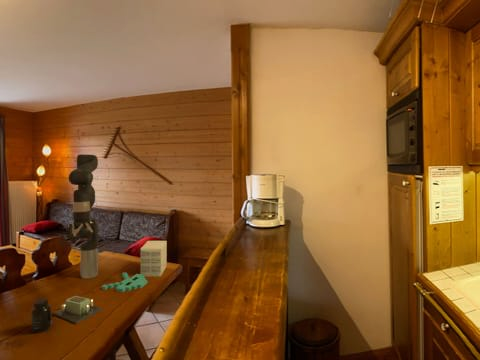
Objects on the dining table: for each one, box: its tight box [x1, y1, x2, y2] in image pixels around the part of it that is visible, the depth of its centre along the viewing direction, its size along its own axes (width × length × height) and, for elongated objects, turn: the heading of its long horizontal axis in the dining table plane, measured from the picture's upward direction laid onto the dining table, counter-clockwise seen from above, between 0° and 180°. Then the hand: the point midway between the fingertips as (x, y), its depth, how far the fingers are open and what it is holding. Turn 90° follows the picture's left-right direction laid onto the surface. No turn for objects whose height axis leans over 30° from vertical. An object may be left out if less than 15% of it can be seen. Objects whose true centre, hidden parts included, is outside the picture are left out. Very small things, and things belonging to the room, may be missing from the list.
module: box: [65, 295, 91, 315], centre depth 125 cm, size 9×5×5 cm, turn 72°
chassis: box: [53, 297, 102, 325], centre depth 125 cm, size 16×12×5 cm
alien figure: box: [101, 272, 148, 293], centre depth 157 cm, size 20×2×20 cm
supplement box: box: [140, 240, 168, 277], centre depth 175 cm, size 17×13×18 cm
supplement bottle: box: [30, 297, 52, 334], centre depth 113 cm, size 7×7×12 cm
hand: (81, 241), depth 138 cm, fingers open, 8 cm apart
